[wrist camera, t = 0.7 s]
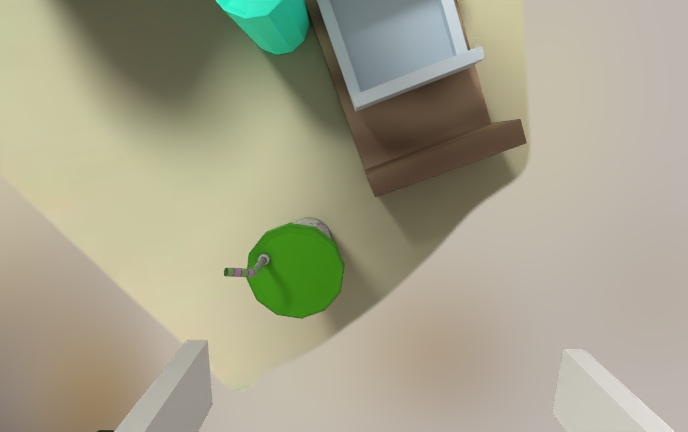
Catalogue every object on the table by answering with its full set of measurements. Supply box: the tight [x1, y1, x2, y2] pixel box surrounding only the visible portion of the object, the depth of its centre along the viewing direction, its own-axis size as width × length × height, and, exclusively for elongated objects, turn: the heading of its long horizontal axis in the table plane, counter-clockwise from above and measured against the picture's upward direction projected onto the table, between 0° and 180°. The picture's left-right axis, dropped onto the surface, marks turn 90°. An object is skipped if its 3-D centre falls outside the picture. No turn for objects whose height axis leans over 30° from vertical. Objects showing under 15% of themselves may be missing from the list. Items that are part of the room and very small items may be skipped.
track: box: [305, 0, 526, 197], centre depth 31 cm, size 20×13×7 cm, turn 20°
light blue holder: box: [317, 0, 485, 112], centre depth 30 cm, size 11×11×5 cm
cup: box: [224, 218, 344, 318], centre depth 31 cm, size 8×8×15 cm
